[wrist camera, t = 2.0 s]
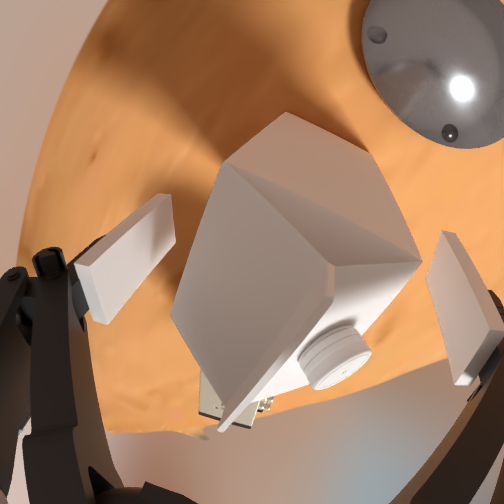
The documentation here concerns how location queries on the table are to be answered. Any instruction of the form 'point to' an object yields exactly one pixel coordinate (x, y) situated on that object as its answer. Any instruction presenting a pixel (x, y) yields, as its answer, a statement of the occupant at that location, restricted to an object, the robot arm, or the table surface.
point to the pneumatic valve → (214, 407)
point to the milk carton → (290, 265)
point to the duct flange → (439, 66)
